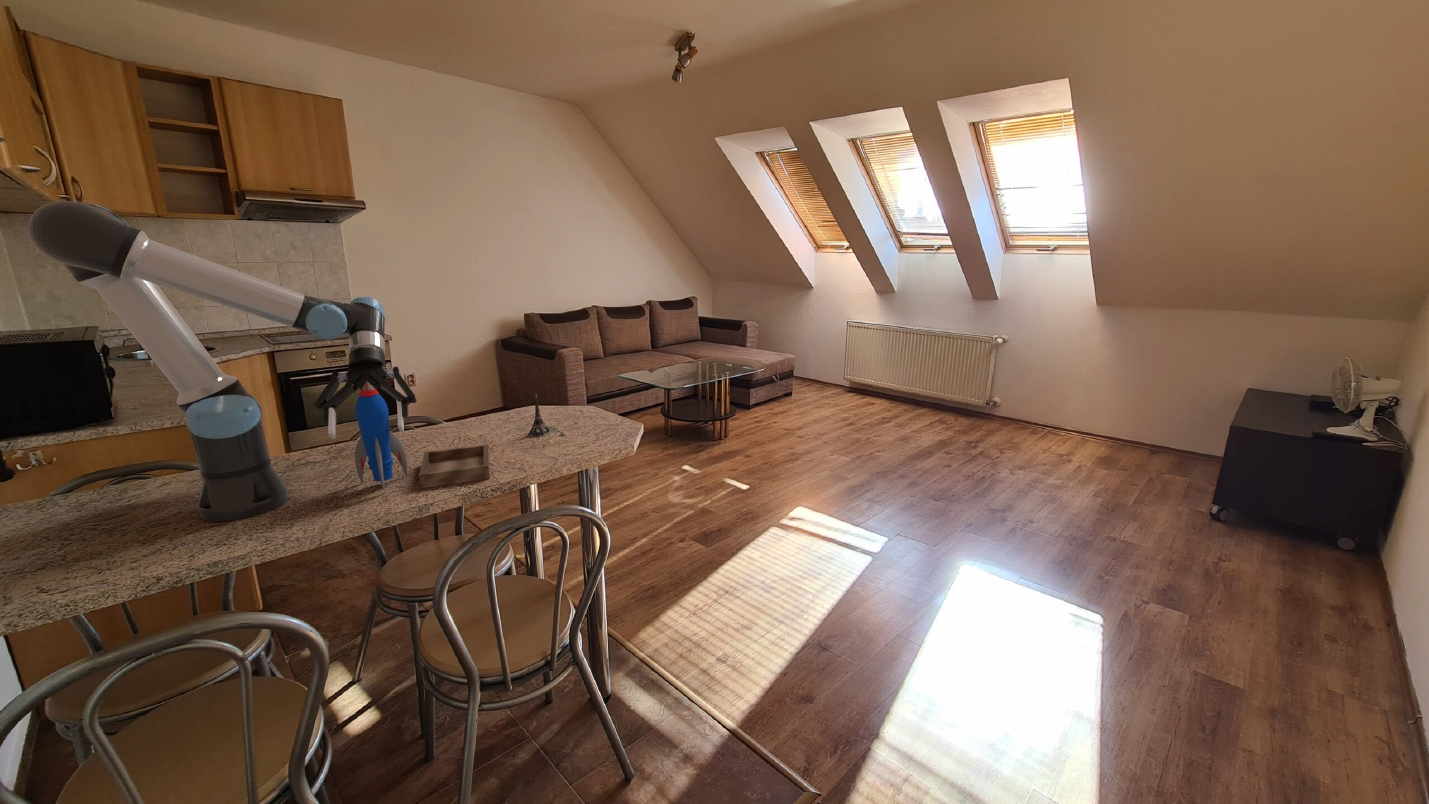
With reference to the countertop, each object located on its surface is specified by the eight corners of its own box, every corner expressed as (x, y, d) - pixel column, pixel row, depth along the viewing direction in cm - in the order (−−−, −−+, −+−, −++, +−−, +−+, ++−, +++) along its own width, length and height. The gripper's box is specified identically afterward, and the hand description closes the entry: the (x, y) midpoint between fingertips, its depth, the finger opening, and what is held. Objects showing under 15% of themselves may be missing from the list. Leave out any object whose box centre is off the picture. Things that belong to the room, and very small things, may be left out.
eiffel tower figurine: (567, 438, 169) (564, 393, 165) (533, 445, 163) (529, 399, 160) (547, 425, 181) (544, 383, 177) (515, 431, 175) (511, 388, 171)
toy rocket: (385, 494, 131) (367, 387, 124) (343, 494, 131) (322, 387, 124) (410, 475, 141) (394, 376, 134) (371, 475, 141) (354, 375, 135)
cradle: (420, 488, 134) (418, 475, 133) (426, 463, 148) (424, 451, 148) (489, 478, 139) (488, 465, 139) (488, 456, 154) (487, 444, 153)
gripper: (426, 359, 147) (430, 433, 138) (311, 367, 138) (307, 446, 129) (422, 342, 141) (425, 418, 132) (300, 349, 132) (295, 431, 123)
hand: (367, 432), depth 130 cm, fingers open, 13 cm apart
